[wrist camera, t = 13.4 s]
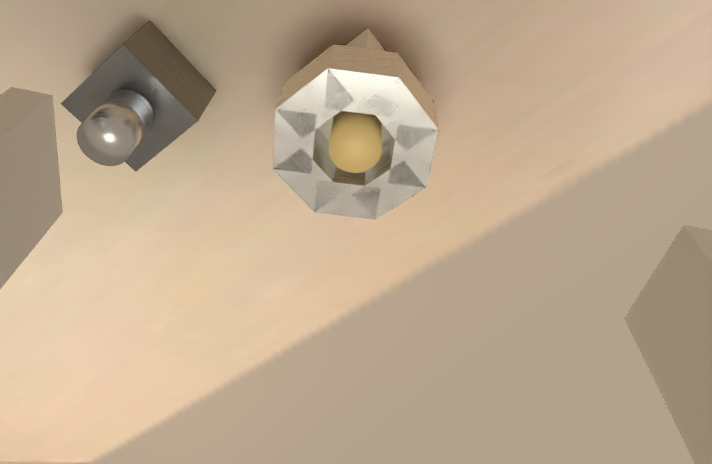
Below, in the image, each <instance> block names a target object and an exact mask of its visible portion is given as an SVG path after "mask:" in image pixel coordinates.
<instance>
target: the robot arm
mask: <svg viewBox="0 0 712 464" xmlns="http://www.w3.org/2000/svg"><path fill="white" fill-rule="evenodd" d="M61 214H62V200H61V189H60V177H59V166H58V154H57V143H56V131H55V120H54V109H53V97H52V95H48V94H43V93H38V92H33V91H28V90H24V89H19V88H14V87H11V88H10V89H8V90H7V91H5V92H4V93H3V94H1V95H0V289H1V288H2V286H3V285H4V284H5V283H6V282H7V280H8V279H9V278H10V277H11V275H12V274H13V273H14V272H15V270H16V269H17V268H18V267H19V265H20V264H21V263H22V262H23V260H24V259H25V258H26V257H27V256H28V254H29V253H30V252H31V251H32V249H33V248H34V247H35V246H36V244H37V243H38V242H39V241H40V239H41V238H42V237H43V236H44V235H45V233H46V232H47V231H48V230H49V228H50V227H51V226H52V225H53V223H54V222H55V221H56V220H57V218H58V217H59V216H60V215H61ZM625 321H626V322H627V325H628V327H629V329H630V331H631V333H632V335H633V337H634V339H635V341H636V343H637V345H638V347H639V349H640V351H641V353H642V356H643V358H644V360H645V362H646V364H647V366H648V368H649V370H650V372H651V374H652V376H653V378H654V380H655V382H656V384H657V387H658V389H659V391H660V393H661V395H662V397H663V399H664V401H665V403H666V405H667V407H668V409H669V411H670V413H671V415H672V417H673V419H674V422H675V424H676V426H677V428H678V430H679V432H680V434H681V436H682V438H683V440H684V442H685V444H686V446H687V448H688V450H689V453H690V455H691V457H692V459H693V461H694V463H695V464H712V230H706V229H701V228H697V227H692V226H687V225H683V227H682V228H681V230H680V232H679V233H678V235H677V236H676V238H675V240H674V241H673V243H672V244H671V246H670V247H669V249H668V250H667V252H666V253H665V255H664V257H663V258H662V260H661V261H660V263H659V264H658V266H657V267H656V269H655V271H654V272H653V274H652V275H651V277H650V278H649V280H648V282H647V283H646V285H645V286H644V288H643V289H642V291H641V293H640V294H639V296H638V297H637V299H636V300H635V302H634V303H633V305H632V307H631V308H630V310H629V311H628V313H627V315H626V316H625Z"/></svg>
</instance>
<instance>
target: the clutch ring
mask: <svg viewBox="0 0 712 464" xmlns="http://www.w3.org/2000/svg"><path fill="white" fill-rule="evenodd" d="M340 111H347V112H355V113H363V114H371V115H376V116H377V118H378V119H379V120H380V121H381V123H382V124H383V125H384V126H385V128H386V129H387V130H388V131H389V133H390V139H388V140H387V141H385V142H384V143H382V151H381V156H380V159H379V161H378V162H377V163H376V165H375V166H374V167H372V168H371V169H369V170H367V171H365V172H361V173H351V172H346V171H344V170H342V169H340V168H339V167H337V166H336V165H335V164H334V163H333V161H332V160H331V158H330V155H329V141H328V140H327V138H326V137H325V136H324V135H323V134H322V133H321V132H320V131H319V127H320V126H321V125H322V124H324V123H325V122H326V121H328V120H329V119H331V118H332V117H333V116H335V115H336V114H337V113H339V112H340ZM438 131H439V129H438V123H437V118H436V112H435V107H434V101H433V100H432V99H431V97H430V96H429V95H428V93H427V92H426V91H425V89H424V88H423V87H422V85H421V84H420V83H419V81H418V80H417V79H416V77H415V76H414V74H413V73H412V72H411V70H410V69H409V68H408V66H407V65H406V64H405V62H404V61H403V60H402V58H401V57H400V56H399V54H398V53H395V52H388V51H380V50H373V49H365V48H357V47H350V46H342V45H335V44H333V45H332V46H330V47H329V48H328V49H327V50H325V51H324V52H323V53H322V54H320V55H319V56H318V57H316V58H315V59H314V60H313V61H311V62H310V63H309V64H308V65H306V66H305V67H304V68H303V69H301V70H300V71H299V72H297V73H296V74H295V75H294V76H292V77H291V78H290V79H289V80H287V81H286V82H285V84H284V87H283V89H282V92H281V95H280V97H279V100H278V103H277V106H276V108H275V128H274V149H273V170H274V171H275V172H276V173H277V174H278V175H279V176H280V177H281V178H282V179H283V180H284V181H285V182H286V183H287V184H288V185H289V186H290V188H291V189H292V190H293V191H294V192H295V193H296V194H297V195H298V196H299V197H300V198H301V199H302V200H303V201H304V202H305V203H306V204H307V205H308V206H309V207H310V208H311V209H312V210H313V211H314V212H317V213H325V214H334V215H342V216H350V217H358V218H367V219H377V218H378V217H380V216H382V215H383V214H385V213H386V212H388V211H390V210H391V209H393V208H394V207H396V206H398V205H399V204H401V203H402V202H404V201H406V200H407V199H409V198H410V197H412V196H414V195H415V194H417V193H418V192H420V191H422V190H423V189H425V188H426V185H427V181H428V176H429V172H430V167H431V163H432V158H433V153H434V149H435V144H436V140H437V135H438Z"/></svg>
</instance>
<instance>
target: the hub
mask: <svg viewBox="0 0 712 464" xmlns="http://www.w3.org/2000/svg"><path fill="white" fill-rule="evenodd" d="M345 46H350V47H357V48H365V49H373V50H380V51H385V50H384V48H383V47H382V46H381V44H380V43H379V42H378V40H377V39H376V38H375V36H374V35H373V34H372V32H371V31H370V30H369V29H368V28H367V29H366V30H364V31H363V32H362V33H361V34H359V35H358V36H357V37H355V38H354V39H353V40H352V41H350V42H349V43H348V44H347V45H345ZM319 131H320V132H321V133H322V134H323V135H324V136H325V137H326V138H327V140H328V141H329V155H330V158H331V160H332V161H333V163H334V164H335V165H336V166H337V167H339V168H340V169H342V170H344V171H346V172H351V173H361V172H365V171H367V170H369V169H371V168H372V167H374V166H375V165H376V163H377V162H378V161H379V159H380V156H381V151H382V143H384V142H385V141H387V140H388V139H390V133H389V131H388V130H387V129H386V128H385V126H384V125H383V124H382V123H381V121H380V120H379V119H378V118H377V116H376V115H371V114H363V113H355V112H347V111H340V112H339V113H337V114H336V115H335V116H333V117H332V118H331V119H329V120H328V121H326V122H325V123H324V124H322V125H321V126H320V127H319Z"/></svg>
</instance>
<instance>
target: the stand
mask: <svg viewBox="0 0 712 464" xmlns="http://www.w3.org/2000/svg"><path fill="white" fill-rule="evenodd" d="M215 92H216V90H215V89H214V88H213V87H212V86H211V85H210V84H209V83H208V82H207V81H206V80H205V79H204V78H203V77H202V76H201V74H200V73H199V72H198V71H197V70H196V69H195V68H194V67H193V66H192V65H191V64H190V63H189V62H188V61H187V60H186V59H185V57H184V56H183V55H182V54H181V53H180V52H179V51H178V50H177V49H176V48H175V47H174V46H173V45H172V44H171V43H170V42H169V41H168V39H167V38H166V37H165V36H164V35H163V34H162V33H161V32H160V31H159V30H158V29H157V28H156V27H155V26H154V25H153V24H152V23H151V21H149V22H148V23H147V24H146V25H145V26H144V27H142V28H141V29H140V30H139V31H138V32H137V33H136V34H134V35H133V36H132V37H131V38H130V39H129V40H128V41H127V42H125V43H124V44H123V45H122V46H121V47H120V48H119V49H118V50H117V51H116V52H115V53H114V54H113V55H111V56H110V57H109V58H108V59H107V60H106V61H105V62H104V63H103V64H102V65H101V66H100V67H99V68H98V69H97V70H96V71H95V72H94V73H93V74H92V75H90V76H89V77H88V78H87V79H86V80H85V81H84V82H83V83H82V84H81V85H80V86H79V87H78V88H77V89H76V90H75V91H74V92H73V93H72V94H70V95H69V96H68V97H67V98H66V99H65V100H64V101H63V102H62V103H61V104H62V105H63V106H64V107H65V108H66V109H67V110H68V111H69V112H70V113H72V114H73V115H74V116H75V117H76V118H77V119H78V120H79V121H80V122H82V124H81V125H80V126H79V128H78V131H77V141H78V144H79V146H80V148H81V150H82V151H83V153H84V154H85V155H86V156H87V157H88V158H90V159H91V160H93V161H94V162H96V163H99V164H101V165H106V166H115V165H119V164H121V163H123V162H124V161H125V162H126V163H127V164H128V165H129V166H130V167H131V168H132V169H133V170H135V171H137V170H138V169H140V168H141V167H142V166H143V165H145V164H146V163H147V162H148V161H149V160H151V159H152V158H153V157H154V156H156V155H157V154H158V153H159V152H160V151H162V150H163V149H164V148H165V147H167V146H168V145H169V144H170V143H171V142H173V141H174V140H175V139H176V138H178V137H179V136H180V135H181V134H182V133H184V132H185V131H186V130H187V129H189V128H190V127H191V126H192V125H194V124H195V123H196V122H197V121H198V120H199V118H200V117H201V115H202V113H203V112H204V110H205V108H206V107H207V105H208V103H209V102H210V100H211V98H212V97H213V95H214V94H215Z"/></svg>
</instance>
